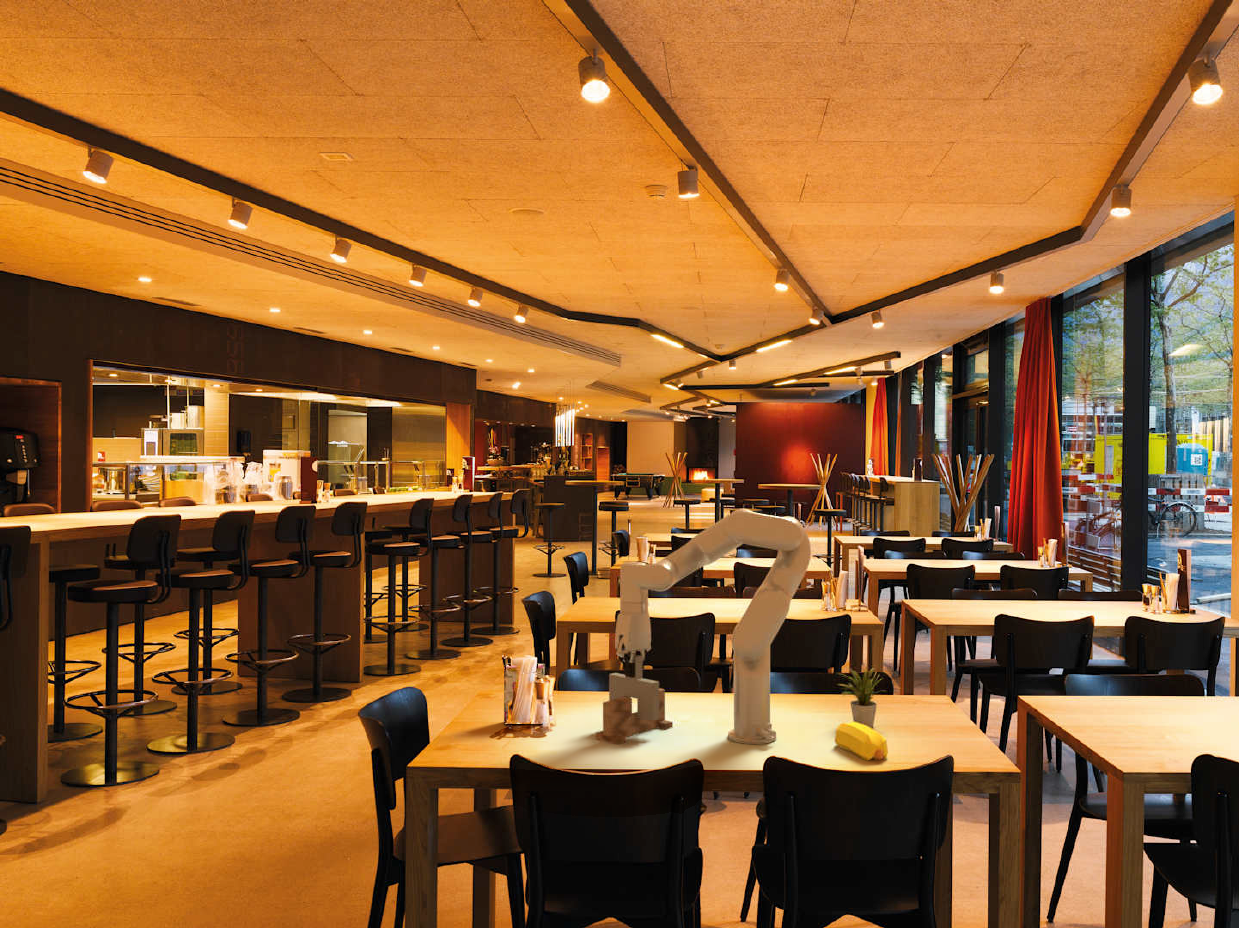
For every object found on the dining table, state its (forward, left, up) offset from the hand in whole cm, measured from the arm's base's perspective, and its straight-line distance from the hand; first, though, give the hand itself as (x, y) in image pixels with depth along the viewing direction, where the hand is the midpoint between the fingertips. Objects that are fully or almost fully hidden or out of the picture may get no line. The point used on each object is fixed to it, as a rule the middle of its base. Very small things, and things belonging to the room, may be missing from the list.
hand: (633, 675), depth 257 cm
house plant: (-22, -60, -16) cm, 66 cm away
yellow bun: (-42, -42, -16) cm, 62 cm away
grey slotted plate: (0, 0, -11) cm, 11 cm away
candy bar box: (+23, +23, -16) cm, 36 cm away
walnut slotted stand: (0, 0, -15) cm, 15 cm away
